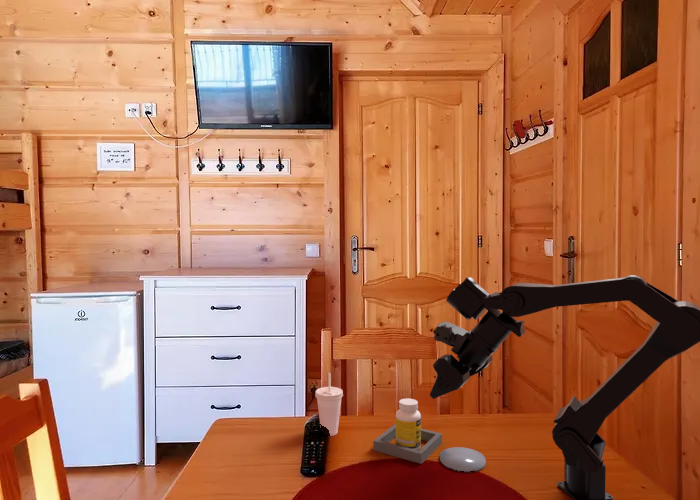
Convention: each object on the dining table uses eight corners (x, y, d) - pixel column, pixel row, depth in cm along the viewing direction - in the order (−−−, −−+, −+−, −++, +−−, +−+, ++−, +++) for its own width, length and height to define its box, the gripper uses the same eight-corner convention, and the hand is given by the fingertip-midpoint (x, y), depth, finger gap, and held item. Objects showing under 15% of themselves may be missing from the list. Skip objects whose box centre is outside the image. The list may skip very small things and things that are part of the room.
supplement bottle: (420, 453, 96) (420, 407, 96) (394, 451, 97) (394, 405, 97) (421, 441, 101) (421, 397, 101) (396, 439, 102) (396, 396, 102)
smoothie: (318, 440, 102) (318, 377, 102) (313, 428, 109) (312, 369, 108) (346, 436, 104) (346, 375, 104) (339, 425, 110) (339, 367, 110)
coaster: (494, 469, 89) (494, 466, 89) (450, 474, 87) (450, 471, 87) (473, 448, 98) (473, 445, 98) (433, 452, 96) (433, 449, 96)
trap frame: (442, 442, 101) (442, 433, 101) (421, 463, 91) (421, 454, 91) (396, 431, 107) (396, 422, 107) (373, 450, 97) (373, 440, 97)
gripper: (471, 302, 101) (430, 352, 106) (436, 315, 85) (391, 373, 91) (512, 338, 96) (467, 388, 102) (484, 358, 81) (433, 416, 86)
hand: (440, 390), depth 95 cm, fingers open, 9 cm apart
